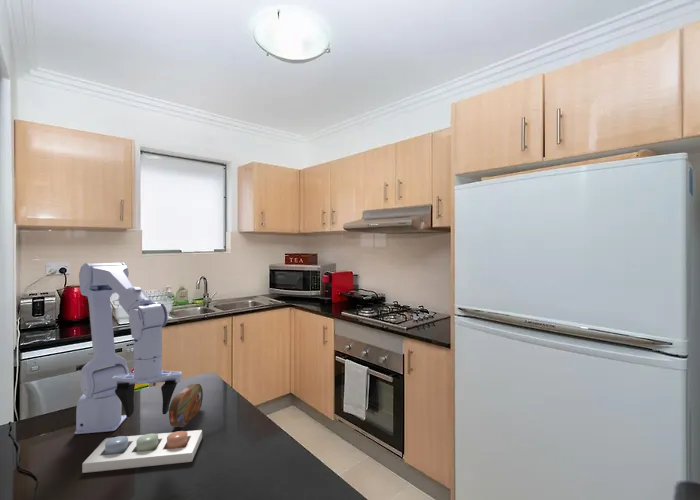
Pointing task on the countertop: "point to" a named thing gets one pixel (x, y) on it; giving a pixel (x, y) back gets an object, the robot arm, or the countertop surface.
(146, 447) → the sage button
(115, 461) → the button panel
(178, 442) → the terracotta button
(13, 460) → the countertop surface
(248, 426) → the countertop surface
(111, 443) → the slate button
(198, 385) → the tin
